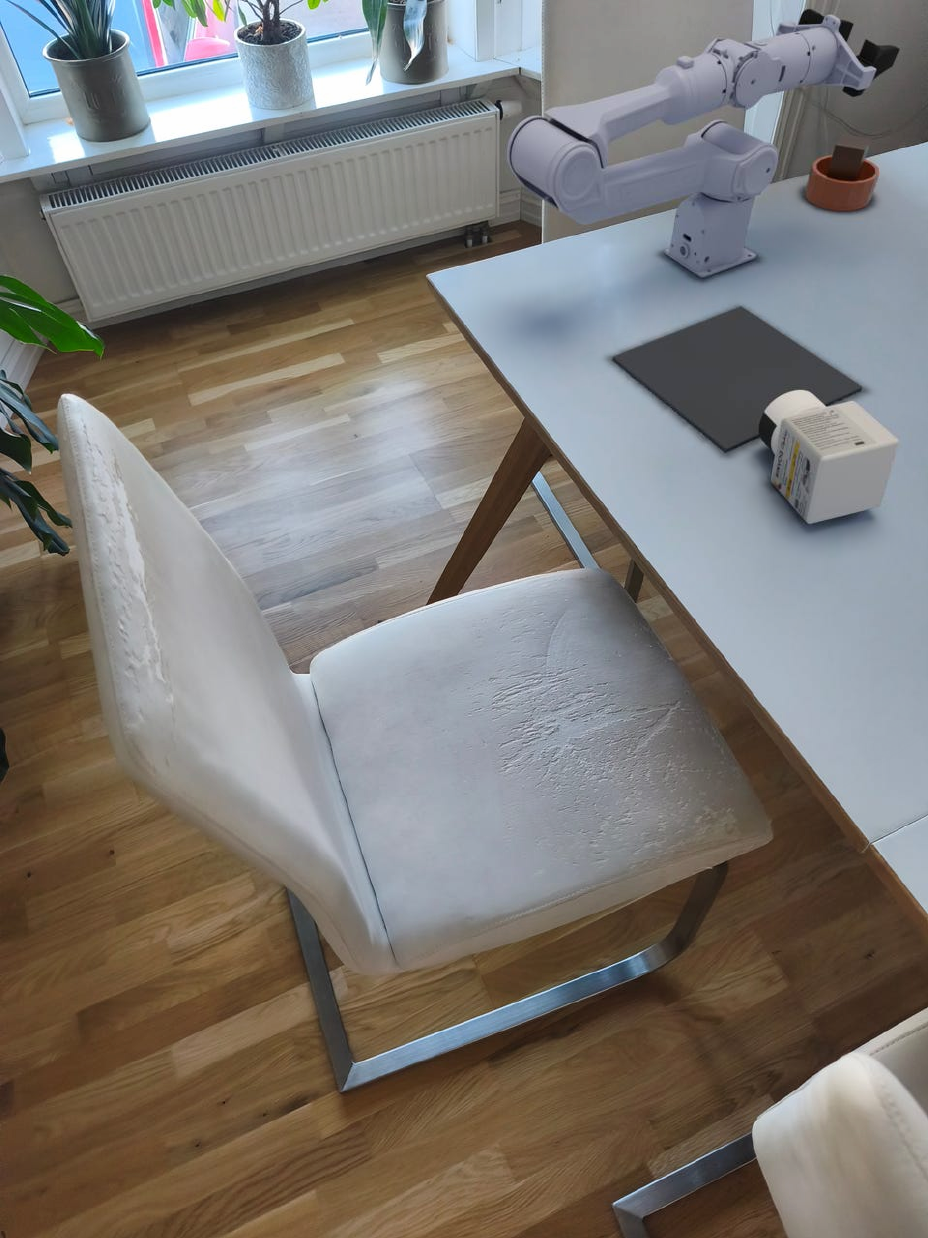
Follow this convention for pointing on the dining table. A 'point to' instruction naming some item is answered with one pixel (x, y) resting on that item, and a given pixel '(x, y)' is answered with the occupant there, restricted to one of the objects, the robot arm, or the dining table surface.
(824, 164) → the orange round bowl
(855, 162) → the block
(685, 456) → the dining table surface
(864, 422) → the container
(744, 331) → the mat
